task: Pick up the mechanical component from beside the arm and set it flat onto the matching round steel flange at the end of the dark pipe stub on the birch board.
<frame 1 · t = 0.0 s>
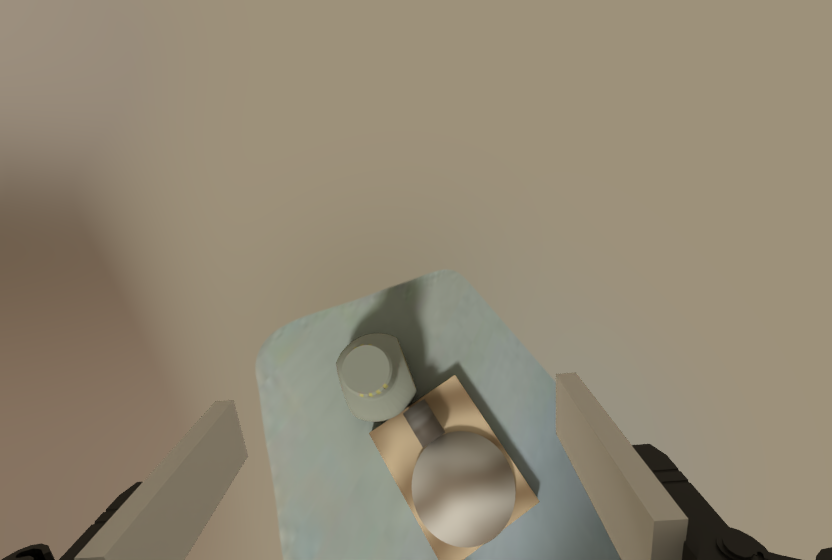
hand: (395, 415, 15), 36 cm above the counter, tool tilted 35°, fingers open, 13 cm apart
flange board: (450, 464, 47), on the counter
grey rounded piece: (380, 378, 52), on the counter
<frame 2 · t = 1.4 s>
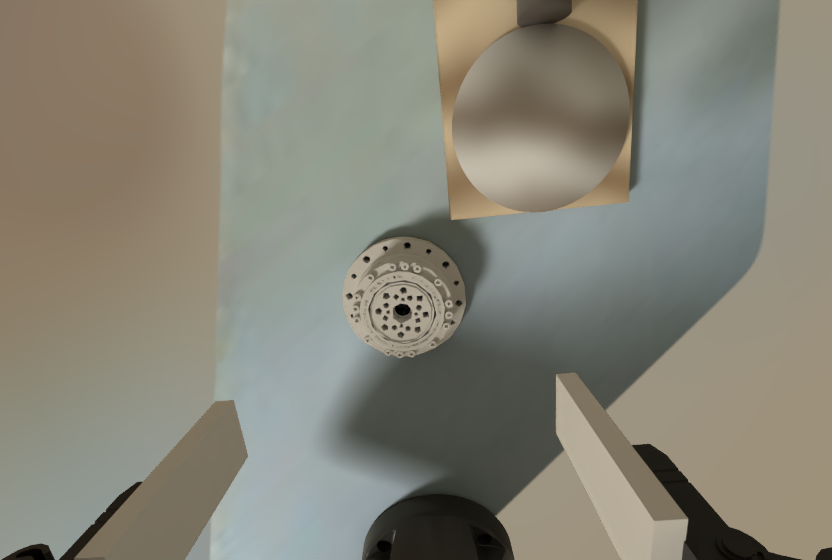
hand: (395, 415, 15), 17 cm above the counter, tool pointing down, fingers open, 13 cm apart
flange board: (531, 90, 27), on the counter
mechanical component: (404, 293, 32), on the counter
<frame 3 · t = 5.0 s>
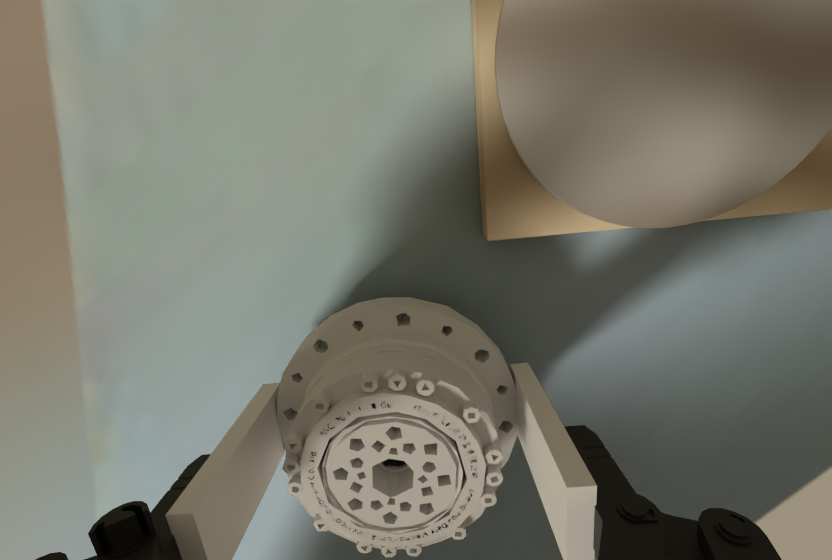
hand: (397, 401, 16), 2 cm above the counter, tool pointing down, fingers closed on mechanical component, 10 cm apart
mechanical component: (400, 398, 17), point 2 cm above the counter, touching gripper
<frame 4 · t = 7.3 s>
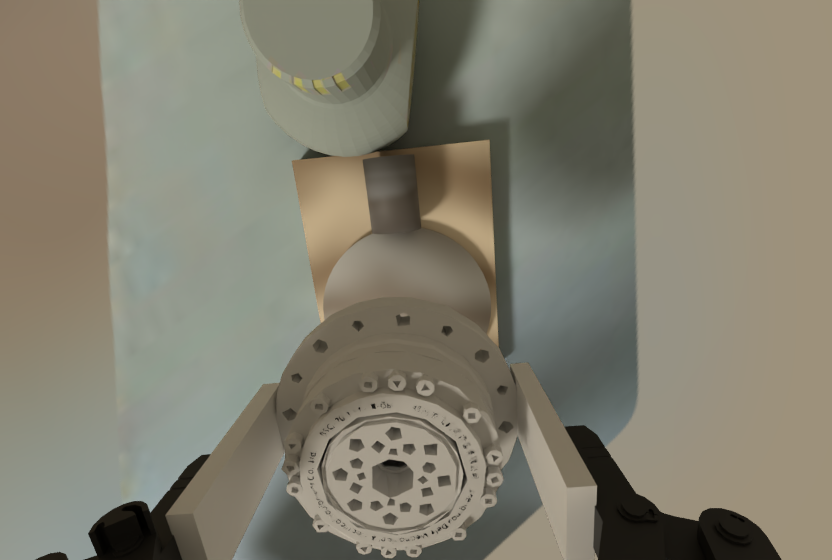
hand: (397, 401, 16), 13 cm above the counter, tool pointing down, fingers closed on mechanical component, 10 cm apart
flange board: (404, 270, 29), on the counter
grey rounded piece: (351, 72, 25), on the counter
mechanical component: (400, 398, 17), point 13 cm above the counter, touching gripper
when the fingers open (4 cm above the counter, at t = 9.9 s): mechanical component drops 1 cm, resting on flange board.
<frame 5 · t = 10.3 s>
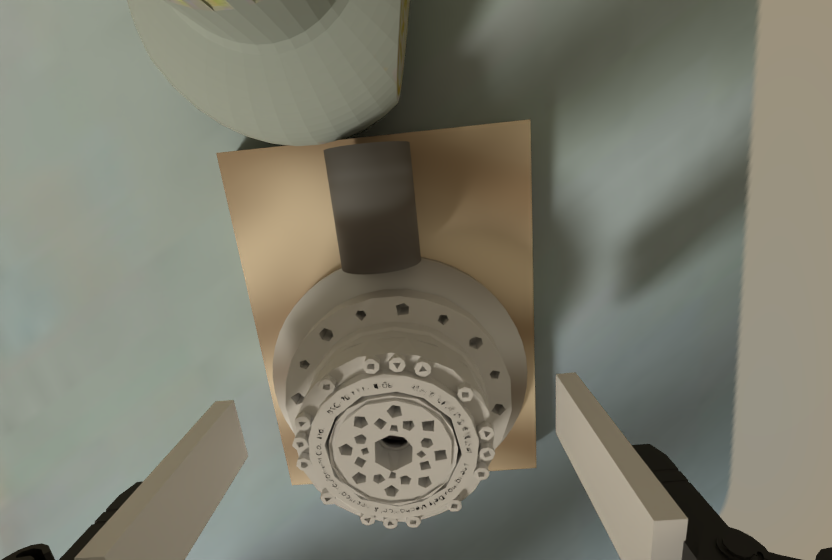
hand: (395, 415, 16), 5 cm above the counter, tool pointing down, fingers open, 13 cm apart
flange board: (396, 316, 19), on the counter
grey rounded piece: (311, 13, 16), on the counter
mechanical component: (400, 384, 18), point 2 cm above the counter, touching flange board
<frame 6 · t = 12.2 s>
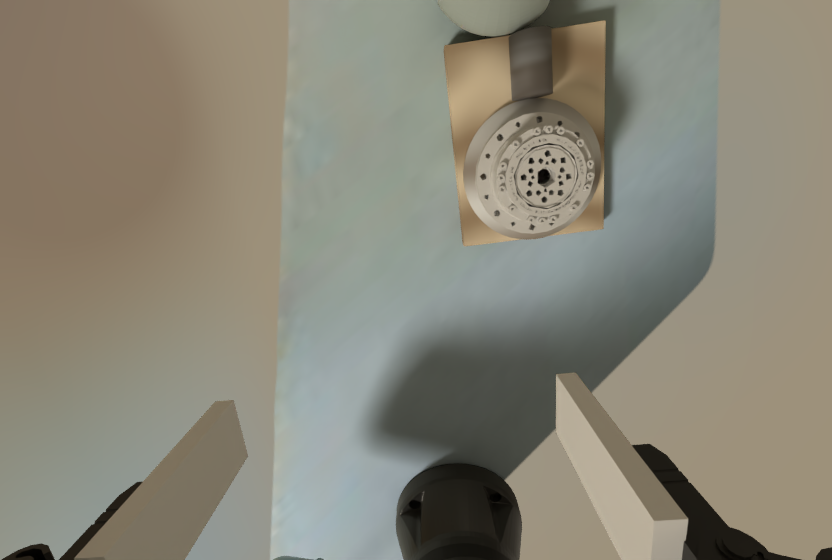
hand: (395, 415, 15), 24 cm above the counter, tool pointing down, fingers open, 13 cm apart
flange board: (524, 143, 35), on the counter
mechanical component: (530, 175, 34), point 2 cm above the counter, touching flange board
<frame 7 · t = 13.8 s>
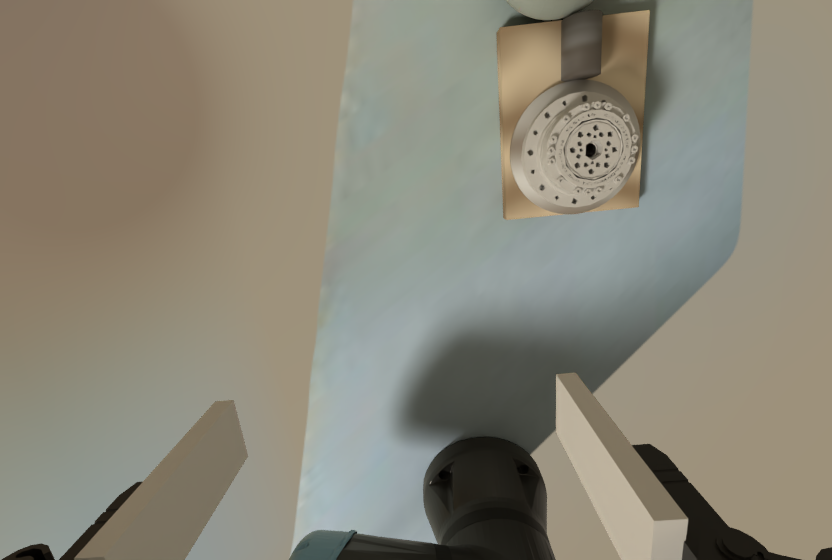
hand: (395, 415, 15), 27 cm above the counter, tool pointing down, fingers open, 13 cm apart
flange board: (567, 124, 37), on the counter
mechanical component: (572, 152, 36), point 2 cm above the counter, touching flange board
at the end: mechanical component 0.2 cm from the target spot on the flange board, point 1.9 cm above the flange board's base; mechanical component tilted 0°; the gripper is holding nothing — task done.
